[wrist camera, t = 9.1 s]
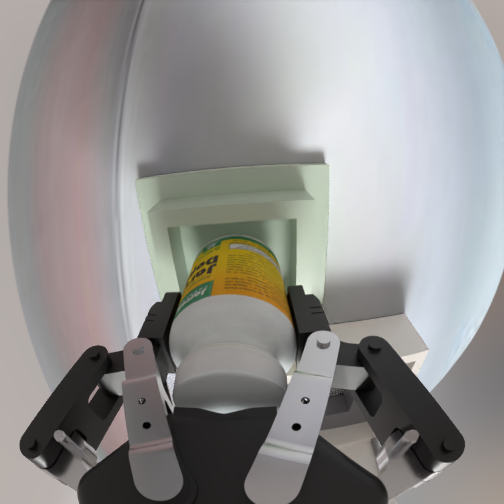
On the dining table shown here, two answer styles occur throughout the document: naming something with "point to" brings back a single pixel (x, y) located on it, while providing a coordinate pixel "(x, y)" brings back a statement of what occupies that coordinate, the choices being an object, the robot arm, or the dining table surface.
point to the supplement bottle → (233, 329)
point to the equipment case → (344, 406)
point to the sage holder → (238, 218)
